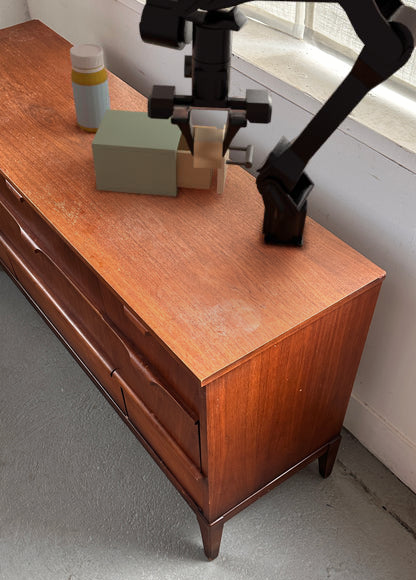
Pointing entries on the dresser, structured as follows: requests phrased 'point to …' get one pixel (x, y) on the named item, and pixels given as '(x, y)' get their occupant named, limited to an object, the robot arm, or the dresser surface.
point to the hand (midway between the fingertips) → (208, 155)
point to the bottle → (89, 86)
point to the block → (208, 148)
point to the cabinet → (136, 153)
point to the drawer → (203, 176)
